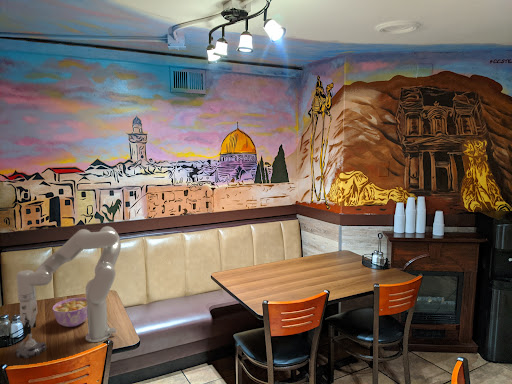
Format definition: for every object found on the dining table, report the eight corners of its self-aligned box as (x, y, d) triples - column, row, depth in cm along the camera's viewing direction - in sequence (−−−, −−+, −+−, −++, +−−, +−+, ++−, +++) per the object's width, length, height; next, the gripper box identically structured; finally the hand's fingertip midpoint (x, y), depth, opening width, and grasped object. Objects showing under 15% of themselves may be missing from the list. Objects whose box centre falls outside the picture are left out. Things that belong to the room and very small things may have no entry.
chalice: (21, 344, 188) (18, 310, 186) (36, 339, 193) (33, 305, 191) (25, 350, 183) (22, 314, 181) (40, 344, 188) (38, 310, 186)
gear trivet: (49, 343, 196) (49, 340, 196) (41, 356, 184) (41, 353, 183) (22, 345, 193) (21, 343, 193) (11, 359, 181) (11, 357, 181)
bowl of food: (77, 333, 206) (75, 313, 204) (45, 330, 210) (43, 310, 208) (99, 317, 225) (98, 298, 224) (69, 314, 229) (68, 296, 228)
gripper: (29, 302, 177) (32, 338, 180) (41, 288, 194) (43, 322, 196) (11, 303, 176) (14, 340, 178) (25, 289, 192) (28, 323, 195)
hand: (29, 330), depth 187 cm, fingers closed on chalice, 5 cm apart
